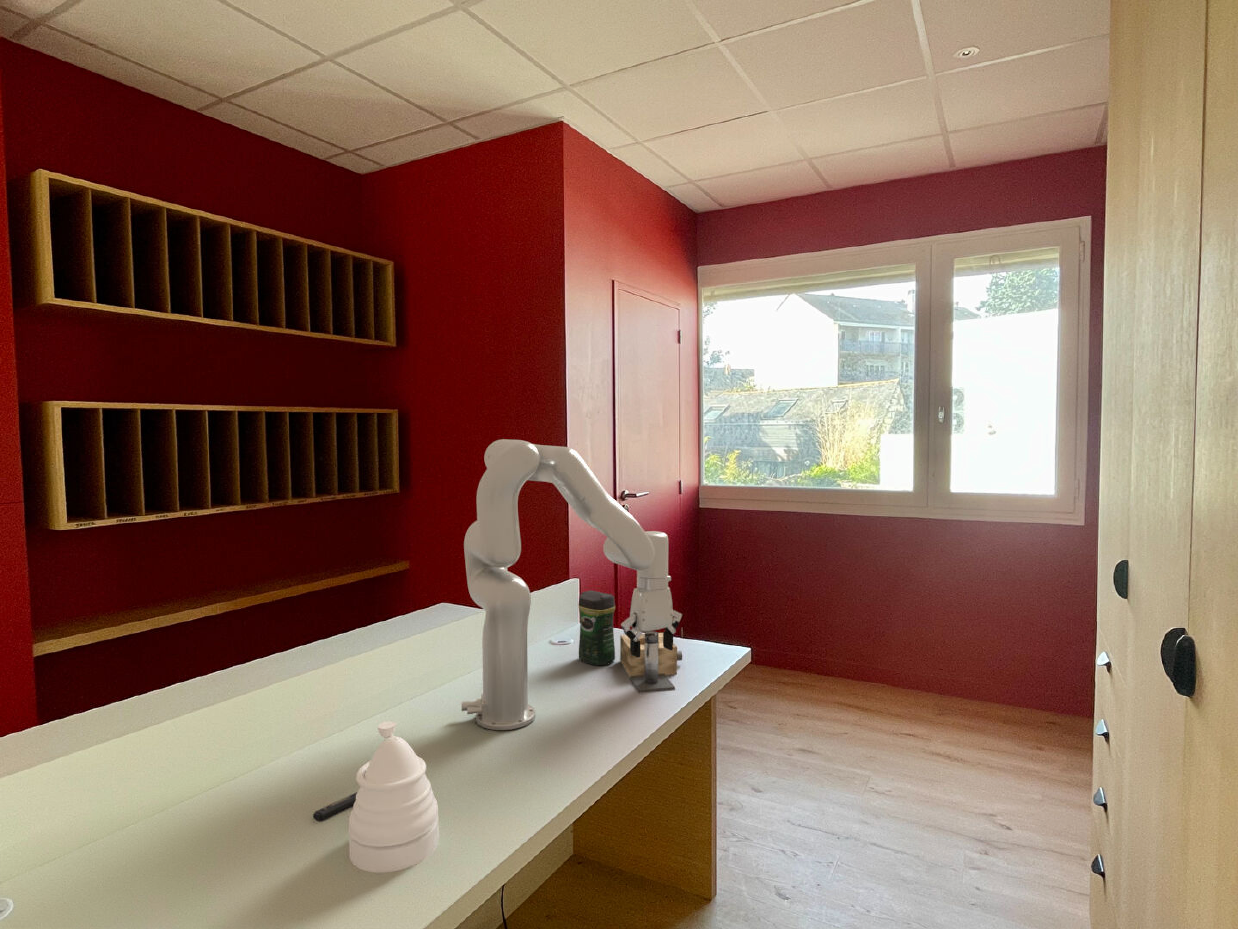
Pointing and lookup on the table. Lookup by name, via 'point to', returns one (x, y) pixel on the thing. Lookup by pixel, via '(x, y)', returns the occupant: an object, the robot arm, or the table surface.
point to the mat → (661, 685)
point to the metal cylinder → (651, 657)
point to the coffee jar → (596, 628)
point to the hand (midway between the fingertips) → (651, 652)
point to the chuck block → (636, 665)
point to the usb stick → (335, 808)
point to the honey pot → (393, 809)
